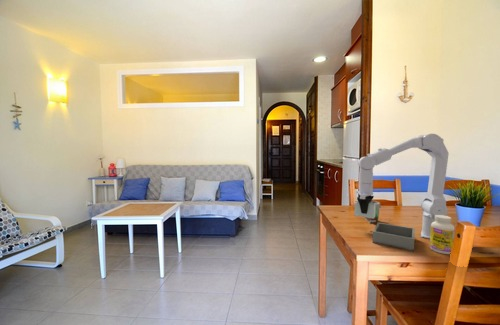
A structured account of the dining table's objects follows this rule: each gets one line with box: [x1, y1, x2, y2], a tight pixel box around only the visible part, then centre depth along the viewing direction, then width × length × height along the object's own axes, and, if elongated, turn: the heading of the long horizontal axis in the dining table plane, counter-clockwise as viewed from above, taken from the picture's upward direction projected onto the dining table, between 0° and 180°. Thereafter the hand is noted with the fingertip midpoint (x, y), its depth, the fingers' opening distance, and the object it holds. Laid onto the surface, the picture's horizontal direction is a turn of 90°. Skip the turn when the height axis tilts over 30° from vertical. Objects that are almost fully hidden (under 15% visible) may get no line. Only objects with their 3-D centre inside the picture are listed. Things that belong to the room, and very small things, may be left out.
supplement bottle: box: [429, 215, 455, 255], centre depth 85 cm, size 7×7×13 cm
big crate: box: [372, 222, 416, 252], centre depth 95 cm, size 14×15×4 cm
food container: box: [364, 200, 382, 225], centre depth 121 cm, size 12×6×10 cm, turn 168°
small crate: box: [353, 200, 376, 219], centre depth 106 cm, size 8×5×6 cm, turn 54°
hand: (365, 212), depth 106 cm, fingers closed on small crate, 5 cm apart
